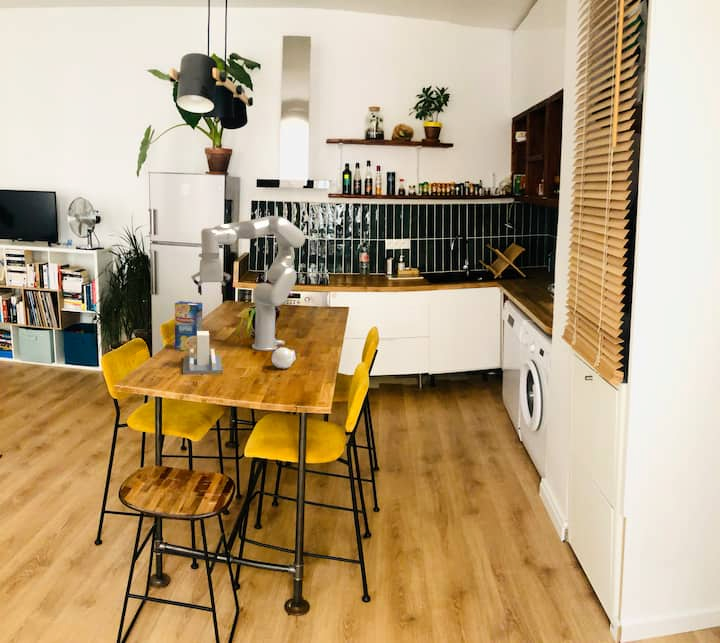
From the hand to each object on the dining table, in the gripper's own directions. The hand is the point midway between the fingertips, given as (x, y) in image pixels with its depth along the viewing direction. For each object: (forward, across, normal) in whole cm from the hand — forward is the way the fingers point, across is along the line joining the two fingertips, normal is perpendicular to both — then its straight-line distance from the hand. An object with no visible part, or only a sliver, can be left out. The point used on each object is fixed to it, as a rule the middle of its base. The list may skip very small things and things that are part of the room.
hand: (211, 294), depth 320 cm
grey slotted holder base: (+28, -6, -17) cm, 34 cm away
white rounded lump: (+30, +29, -22) cm, 47 cm away
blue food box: (+29, -10, +15) cm, 34 cm away
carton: (+27, -5, -17) cm, 32 cm away
